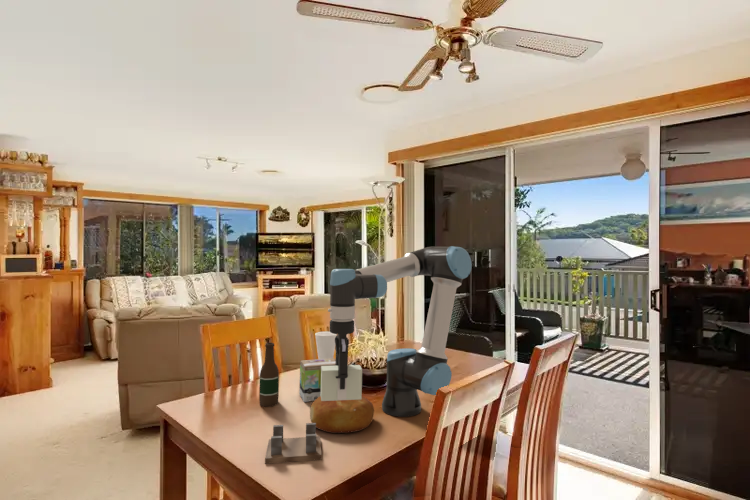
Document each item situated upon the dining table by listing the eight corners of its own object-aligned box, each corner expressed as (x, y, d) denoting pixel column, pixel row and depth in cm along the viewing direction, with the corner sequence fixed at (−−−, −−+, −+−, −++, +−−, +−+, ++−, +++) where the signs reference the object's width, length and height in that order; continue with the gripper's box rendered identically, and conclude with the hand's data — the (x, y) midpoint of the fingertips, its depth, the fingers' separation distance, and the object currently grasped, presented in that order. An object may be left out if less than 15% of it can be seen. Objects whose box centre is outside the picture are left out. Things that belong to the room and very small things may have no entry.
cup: (315, 360, 228) (315, 331, 228) (336, 359, 229) (336, 331, 229) (314, 366, 216) (314, 335, 216) (336, 365, 217) (337, 335, 217)
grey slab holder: (320, 440, 132) (320, 420, 132) (321, 459, 120) (321, 437, 120) (268, 444, 129) (269, 423, 129) (265, 463, 117) (265, 441, 117)
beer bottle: (273, 408, 158) (274, 345, 158) (255, 406, 160) (256, 344, 160) (282, 400, 166) (282, 341, 166) (264, 399, 168) (265, 340, 168)
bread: (353, 406, 162) (353, 380, 162) (386, 428, 142) (386, 399, 142) (298, 418, 150) (299, 390, 150) (326, 444, 130) (327, 412, 130)
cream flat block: (359, 393, 128) (359, 364, 128) (361, 399, 123) (362, 369, 123) (320, 395, 126) (321, 365, 126) (321, 401, 121) (322, 370, 121)
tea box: (303, 403, 164) (304, 366, 164) (299, 394, 173) (299, 359, 173) (340, 398, 169) (340, 362, 169) (333, 390, 179) (333, 356, 179)
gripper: (327, 315, 133) (326, 386, 133) (332, 324, 115) (330, 407, 115) (350, 314, 135) (349, 385, 134) (358, 324, 117) (357, 406, 117)
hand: (340, 395), depth 125 cm, fingers closed on cream flat block, 5 cm apart
